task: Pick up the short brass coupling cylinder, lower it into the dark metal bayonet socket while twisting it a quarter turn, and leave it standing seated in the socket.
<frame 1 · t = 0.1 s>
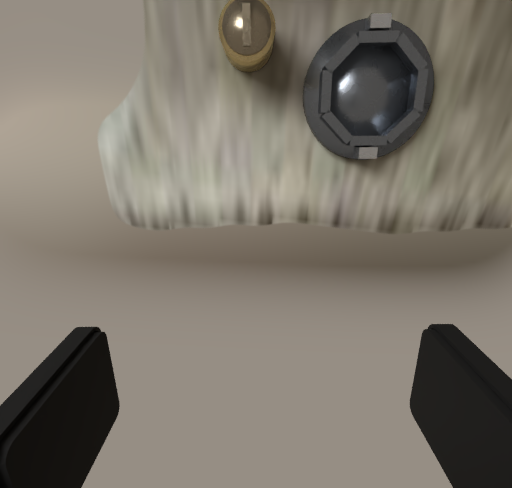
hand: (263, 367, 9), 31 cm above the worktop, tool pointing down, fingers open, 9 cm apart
brass coupling: (248, 45, 34), on the worktop
lock base: (365, 94, 35), on the worktop
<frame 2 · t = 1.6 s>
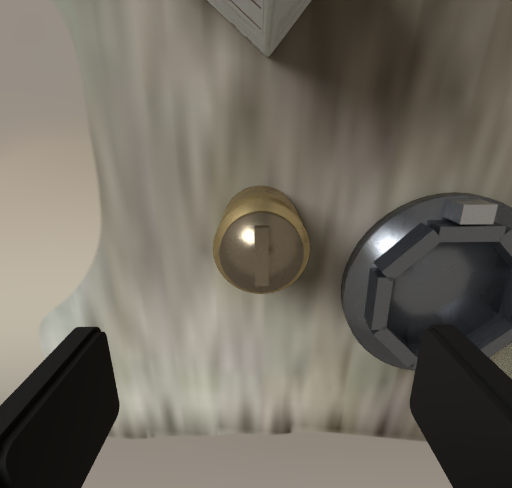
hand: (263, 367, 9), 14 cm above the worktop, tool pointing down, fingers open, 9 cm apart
brass coupling: (260, 223, 22), on the worktop
lock base: (435, 285, 23), on the worktop
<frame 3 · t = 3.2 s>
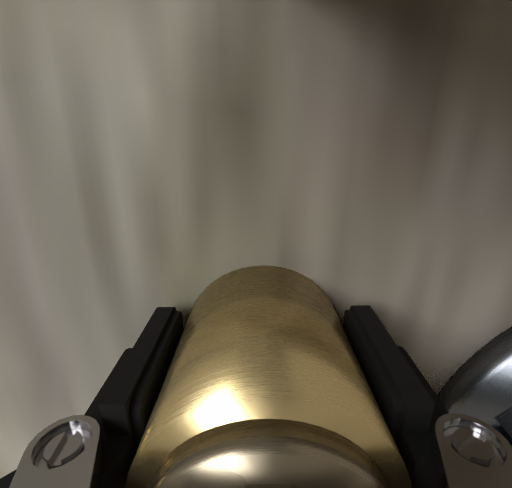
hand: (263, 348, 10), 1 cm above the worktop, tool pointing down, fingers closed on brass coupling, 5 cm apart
brass coupling: (262, 335, 11), on the worktop, touching gripper
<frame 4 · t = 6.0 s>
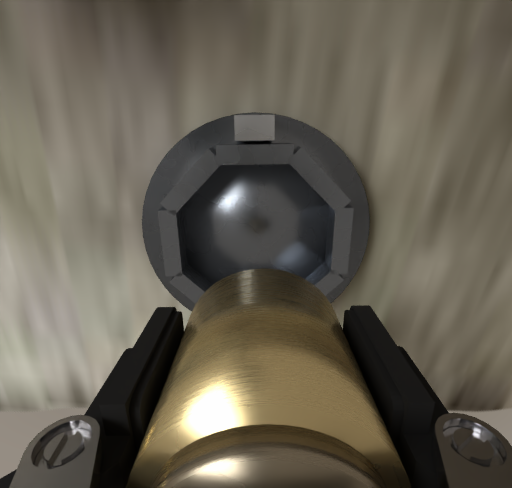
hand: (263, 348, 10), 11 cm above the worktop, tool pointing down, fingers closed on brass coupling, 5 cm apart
brass coupling: (262, 338, 11), point 10 cm above the worktop, touching gripper
lock base: (255, 229, 20), on the worktop
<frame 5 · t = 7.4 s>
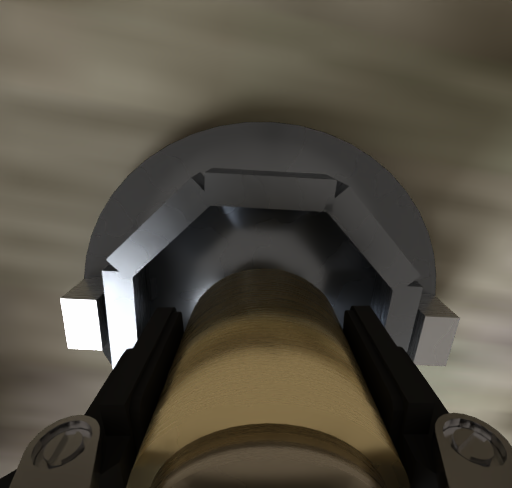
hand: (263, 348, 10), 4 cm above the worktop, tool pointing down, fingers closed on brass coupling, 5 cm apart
brass coupling: (262, 337, 11), point 3 cm above the worktop, touching gripper
lock base: (259, 295, 14), on the worktop
when the fingers open (3 cm above the worktop, at t = 8.7 s): brass coupling drops 1 cm, resting on lock base.
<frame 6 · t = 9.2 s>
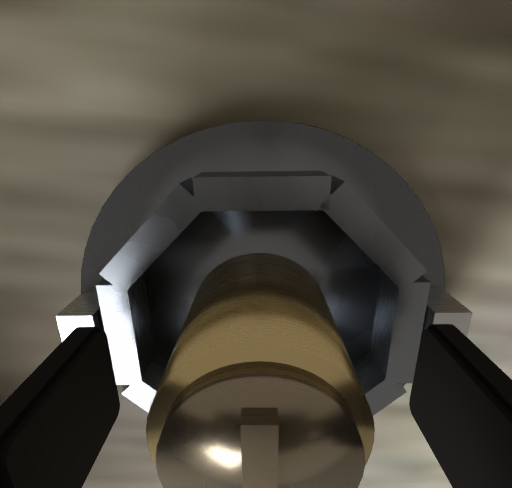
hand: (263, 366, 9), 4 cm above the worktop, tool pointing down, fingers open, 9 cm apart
brass coupling: (259, 315, 12), point 1 cm above the worktop, touching lock base
lock base: (261, 299, 13), on the worktop
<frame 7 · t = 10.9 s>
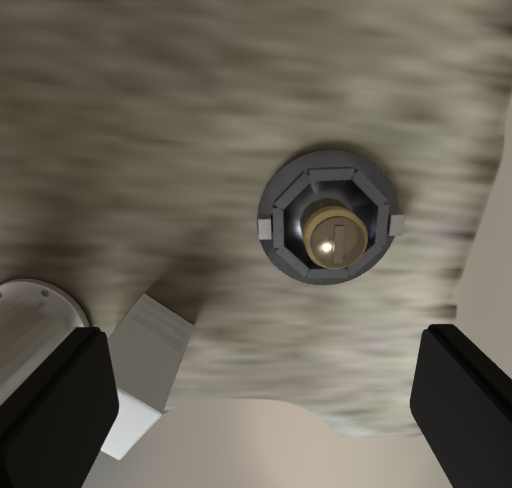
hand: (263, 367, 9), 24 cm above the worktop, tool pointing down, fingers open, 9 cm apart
brass coupling: (325, 223, 32), point 1 cm above the worktop, touching lock base
supplement box: (155, 328, 38), on the worktop
lock base: (325, 219, 32), on the worktop
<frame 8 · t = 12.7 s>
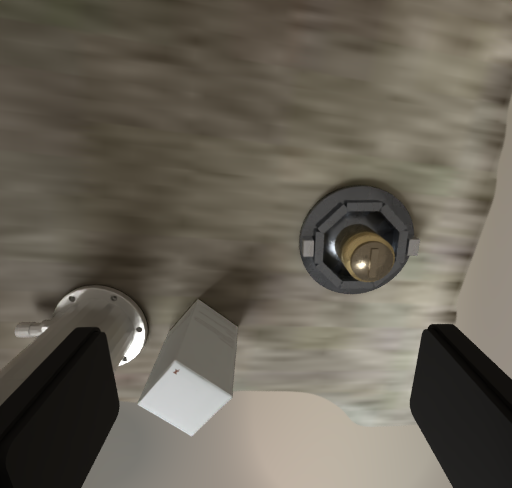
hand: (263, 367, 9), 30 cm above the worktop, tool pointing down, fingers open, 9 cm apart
brass coupling: (355, 244, 39), point 1 cm above the worktop, touching lock base
supplement box: (203, 329, 44), on the worktop
lock base: (354, 240, 40), on the worktop
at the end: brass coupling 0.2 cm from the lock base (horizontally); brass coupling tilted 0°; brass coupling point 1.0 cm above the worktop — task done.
